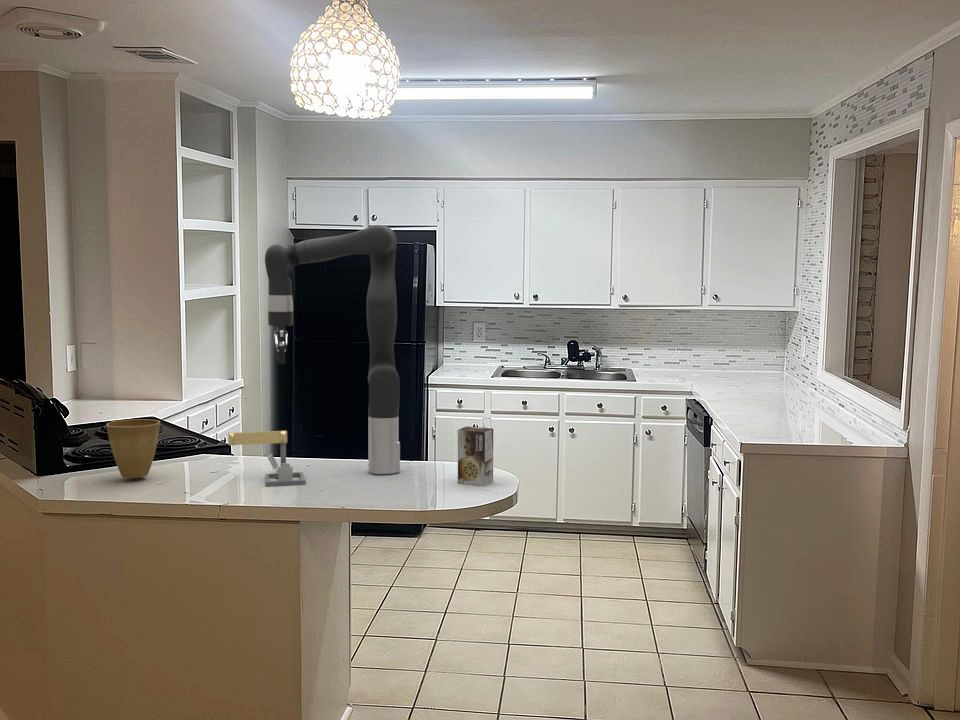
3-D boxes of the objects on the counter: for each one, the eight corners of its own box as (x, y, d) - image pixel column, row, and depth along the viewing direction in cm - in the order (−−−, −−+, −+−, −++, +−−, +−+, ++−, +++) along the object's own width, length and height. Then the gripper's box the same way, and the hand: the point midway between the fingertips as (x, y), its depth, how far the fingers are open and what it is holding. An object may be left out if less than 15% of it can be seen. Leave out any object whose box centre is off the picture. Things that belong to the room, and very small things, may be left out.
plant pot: (170, 475, 260) (168, 422, 259) (120, 483, 250) (118, 428, 248) (148, 467, 271) (147, 416, 269) (99, 474, 260) (98, 422, 259)
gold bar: (287, 443, 263) (287, 431, 263) (228, 445, 258) (228, 434, 258) (286, 441, 266) (286, 430, 265) (228, 444, 261) (228, 432, 260)
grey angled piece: (292, 480, 256) (292, 453, 256) (292, 481, 255) (292, 454, 254) (268, 480, 256) (268, 453, 255) (267, 482, 254) (267, 455, 253)
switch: (301, 471, 268) (301, 441, 267) (305, 484, 252) (305, 453, 251) (264, 472, 265) (264, 443, 265) (266, 486, 249) (265, 454, 248)
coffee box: (493, 482, 257) (494, 428, 256) (484, 486, 251) (485, 431, 250) (466, 478, 261) (466, 425, 259) (456, 483, 255) (457, 428, 254)
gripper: (294, 311, 262) (294, 364, 264) (291, 309, 276) (292, 360, 277) (268, 311, 260) (269, 365, 262) (267, 309, 274) (267, 360, 275)
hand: (281, 362), depth 269 cm, fingers open, 8 cm apart
